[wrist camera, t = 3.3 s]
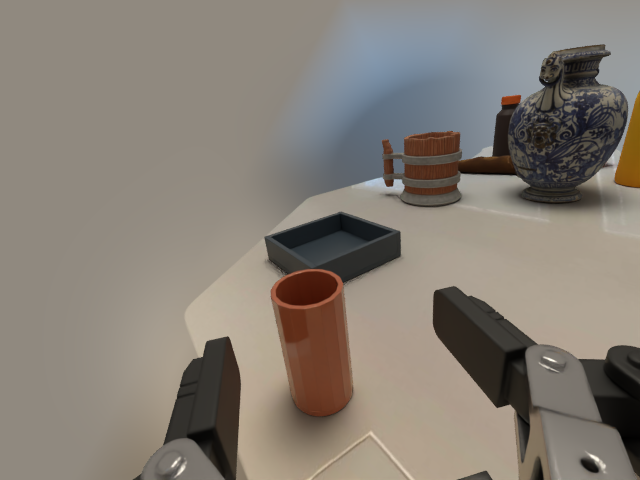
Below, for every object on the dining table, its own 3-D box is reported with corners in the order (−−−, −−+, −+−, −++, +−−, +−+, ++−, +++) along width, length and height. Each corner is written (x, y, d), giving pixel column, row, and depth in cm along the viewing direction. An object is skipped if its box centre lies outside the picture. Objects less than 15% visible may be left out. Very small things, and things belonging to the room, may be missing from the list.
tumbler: (312, 429, 25) (292, 319, 20) (281, 384, 29) (259, 286, 25) (365, 392, 27) (357, 287, 23) (329, 356, 32) (317, 262, 27)
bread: (584, 173, 80) (589, 153, 78) (584, 177, 76) (589, 157, 74) (436, 169, 102) (437, 154, 100) (431, 173, 99) (431, 157, 97)
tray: (315, 295, 42) (311, 268, 41) (268, 258, 55) (264, 236, 53) (400, 255, 50) (400, 231, 48) (342, 231, 62) (341, 211, 61)
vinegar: (496, 160, 105) (504, 96, 97) (519, 161, 100) (528, 94, 92) (487, 164, 101) (494, 98, 93) (510, 165, 96) (519, 95, 88)
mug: (451, 209, 67) (455, 137, 61) (372, 202, 78) (369, 141, 72) (467, 191, 77) (472, 128, 71) (394, 187, 88) (393, 133, 82)
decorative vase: (525, 180, 80) (543, 57, 69) (620, 190, 66) (663, 36, 55) (481, 201, 69) (494, 59, 58) (584, 218, 55) (628, 34, 44)
